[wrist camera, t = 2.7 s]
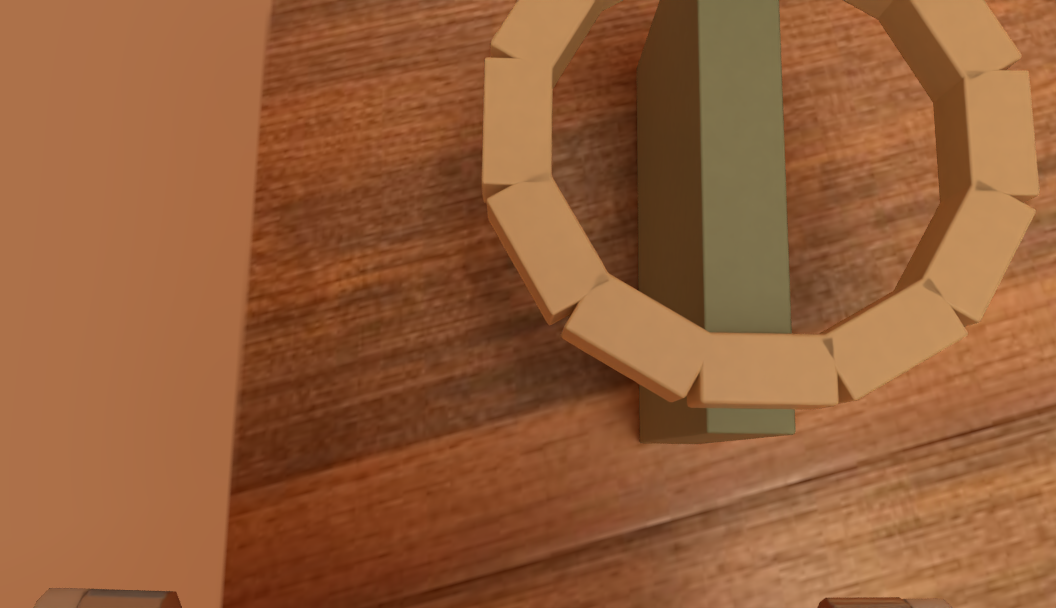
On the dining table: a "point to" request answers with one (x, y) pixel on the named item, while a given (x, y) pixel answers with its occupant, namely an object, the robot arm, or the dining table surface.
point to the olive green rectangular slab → (713, 193)
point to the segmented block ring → (772, 358)
